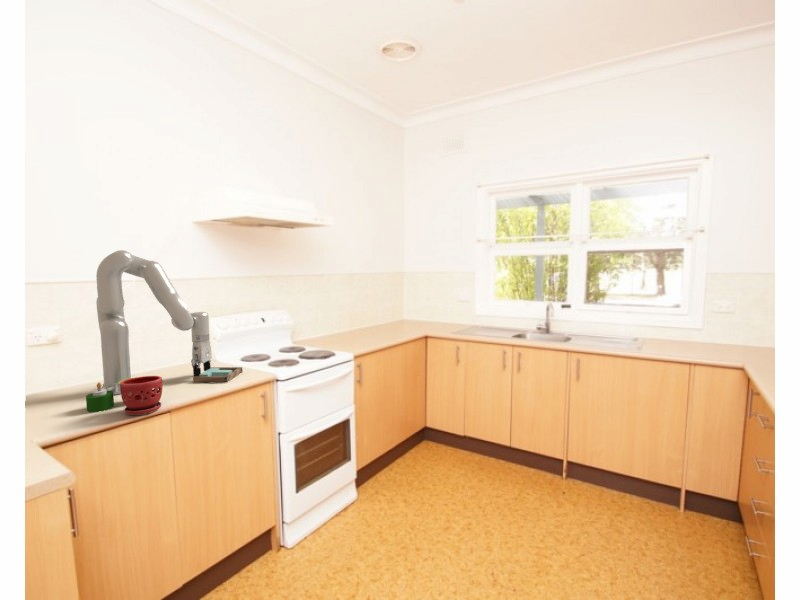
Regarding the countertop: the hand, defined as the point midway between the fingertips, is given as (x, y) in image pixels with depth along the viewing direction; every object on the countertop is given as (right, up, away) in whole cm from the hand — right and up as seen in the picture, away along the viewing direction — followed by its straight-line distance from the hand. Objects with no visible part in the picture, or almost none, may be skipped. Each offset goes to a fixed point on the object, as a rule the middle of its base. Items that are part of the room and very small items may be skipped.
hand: (202, 373), depth 195 cm
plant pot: (0, -6, -45) cm, 45 cm away
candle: (-18, -6, -42) cm, 46 cm away
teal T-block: (+8, -2, 0) cm, 8 cm away
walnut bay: (+7, -2, 0) cm, 7 cm away
